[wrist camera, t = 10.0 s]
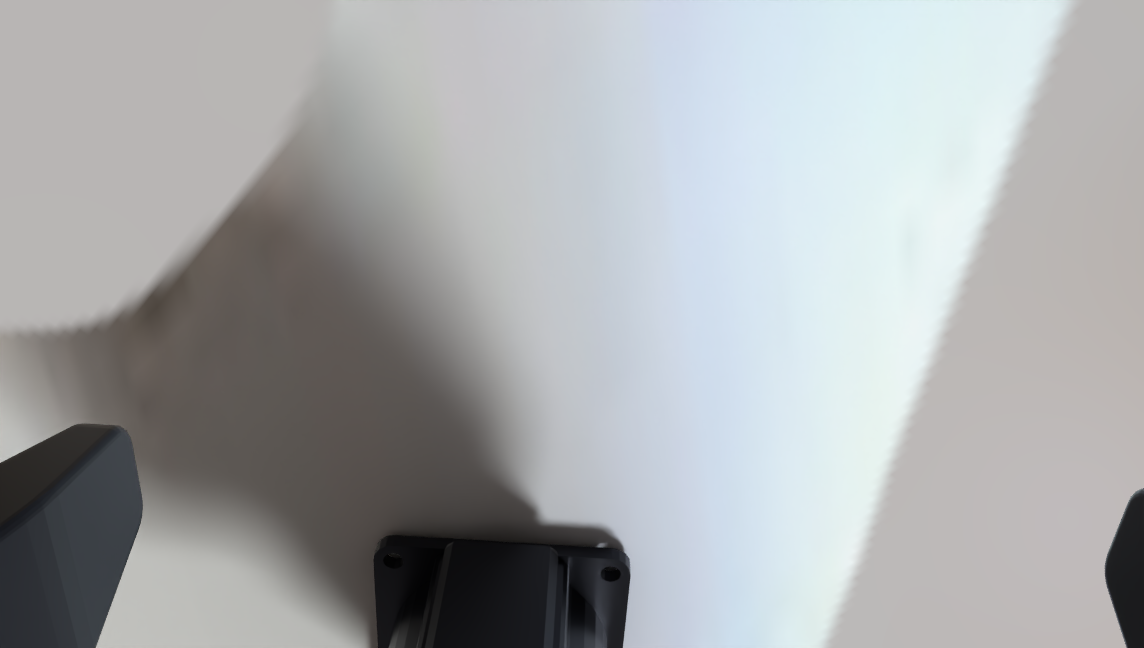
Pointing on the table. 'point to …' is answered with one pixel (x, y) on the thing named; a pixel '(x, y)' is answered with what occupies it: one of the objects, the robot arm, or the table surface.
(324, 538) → the table surface
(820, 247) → the table surface
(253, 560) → the table surface
